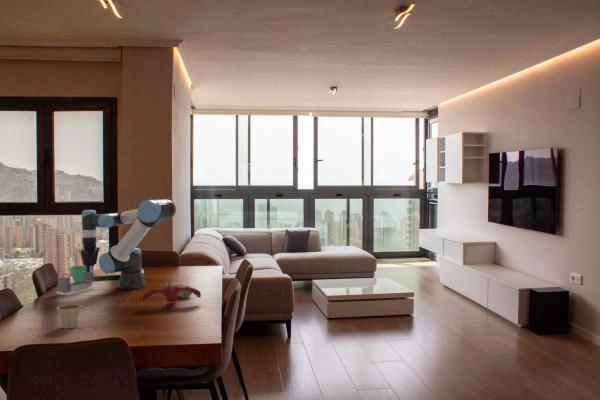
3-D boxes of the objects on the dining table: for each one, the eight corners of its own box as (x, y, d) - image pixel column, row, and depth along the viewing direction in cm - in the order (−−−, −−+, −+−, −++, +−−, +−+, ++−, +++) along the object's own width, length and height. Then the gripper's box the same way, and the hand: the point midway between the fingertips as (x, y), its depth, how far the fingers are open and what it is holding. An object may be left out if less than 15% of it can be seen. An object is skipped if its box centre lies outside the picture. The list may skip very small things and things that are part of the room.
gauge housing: (84, 287, 296) (83, 271, 296) (94, 289, 293) (94, 272, 292) (57, 294, 280) (56, 277, 280) (67, 295, 277) (67, 278, 276)
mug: (85, 285, 304) (85, 268, 304) (68, 285, 303) (68, 268, 302) (92, 280, 318) (92, 264, 318) (76, 280, 317) (75, 264, 317)
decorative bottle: (193, 297, 272) (192, 285, 271) (180, 299, 267) (179, 287, 267) (171, 289, 292) (171, 277, 291) (159, 291, 287) (159, 279, 287)
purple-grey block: (85, 285, 296) (84, 271, 296) (94, 286, 292) (93, 272, 292) (77, 286, 292) (77, 272, 291) (87, 288, 288) (86, 273, 288)
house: (90, 275, 336) (90, 263, 336) (142, 271, 348) (142, 260, 348) (89, 281, 315) (88, 268, 315) (144, 278, 327) (144, 265, 326)
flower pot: (62, 323, 223) (62, 304, 223) (84, 323, 224) (84, 303, 223) (54, 330, 214) (53, 310, 213) (77, 329, 214) (76, 309, 214)
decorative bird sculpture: (142, 315, 252) (141, 298, 242) (143, 299, 259) (142, 282, 248) (200, 311, 260) (201, 294, 250) (199, 296, 266) (200, 278, 256)
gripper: (94, 235, 301) (94, 274, 303) (75, 237, 290) (76, 278, 291) (102, 235, 298) (103, 275, 299) (84, 238, 286) (85, 279, 288)
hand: (90, 277), depth 295 cm, fingers closed
